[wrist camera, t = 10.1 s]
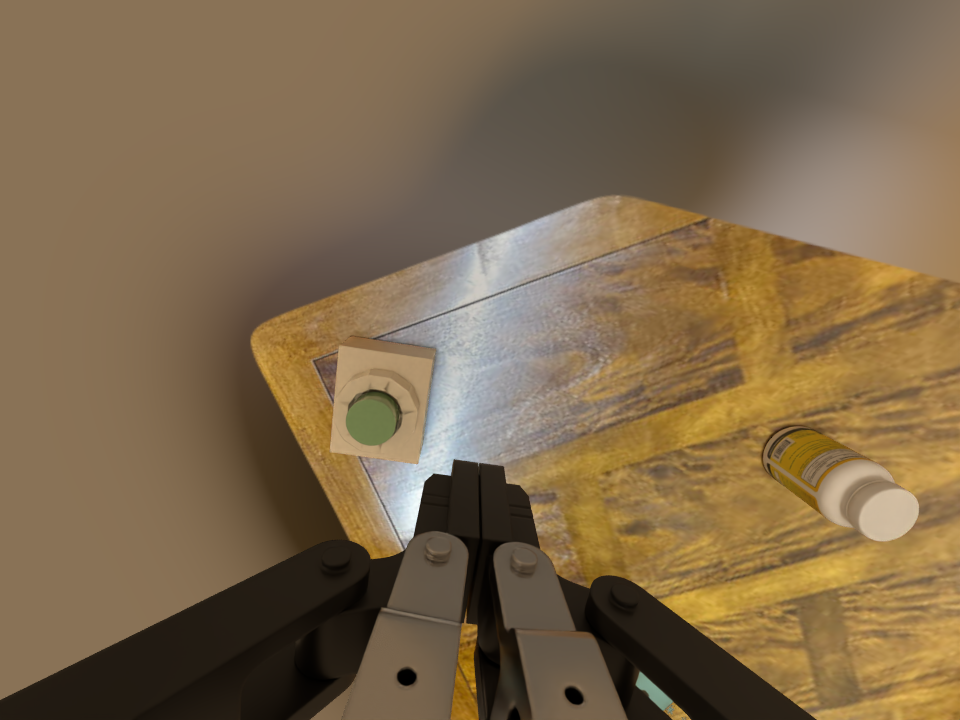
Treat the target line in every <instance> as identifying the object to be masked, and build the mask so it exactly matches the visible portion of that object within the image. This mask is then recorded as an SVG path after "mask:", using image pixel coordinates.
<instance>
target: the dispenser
mask: <svg viewBox="0 0 960 720" xmlns="http://www.w3.org/2000/svg"><path fill="white" fill-rule="evenodd" d="M435 355H436V349H433V348H426V347H420V346H413V345H407V344H400V343H394V342H387V341H381V340H374V339H368V338H362V337H355V336H351V337H349V338H348V339H347V340H345V341H344V342H343V343H341V344H340V345H339V350H338V362H337V374H336V385H335V397H334V409H333V420H332V432H331V444H330V452H334V453H341V454H348V455H355V456H363V457H370V458H377V459H384V460H391V461H398V462H405V463H413V464H418V462H419V458H420V454H421V450H422V446H423V440H424V433H425V426H426V418H427V411H428V404H429V397H430V390H431V383H432V376H433V369H434V362H435ZM374 391H375V392H382V393H385V394H387V395H388V396H390V397H391V398H392V399H393V400H394V401H395V402H396V404H397V406H398V408H399V413H400V417H399V421H398V424H397V426H396V429H395V431H394V433H393V435H392V436H391V438H390V439H389V440H388V441H386V442H385V443H382V444H380V445H375V446H369V445H364V444H361V443H359V442H358V441H356V440H355V439H354V438H353V437H352V436H351V435H350V434H349V432H348V430H347V427H346V415H347V413H348V411H349V409H350V408H351V406H352V405H353V404H354V402H355V401H356V400H357V399H358V398H359V397H360V396H361V395H363V394H365V393H368V392H374Z"/></svg>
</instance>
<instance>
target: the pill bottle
mask: <svg viewBox="0 0 960 720" xmlns="http://www.w3.org/2000/svg"><path fill="white" fill-rule="evenodd" d="M763 463H764V466H765V469H766V470H767V472H768V473H769V474H770V475H771V476H772V477H773V478H774V479H775V480H777V481H778V482H779V483H781V484H782V485H783V486H785V487H786V488H787V489H789V490H790V491H791V492H793V493H794V494H795V495H796V496H798V497H799V498H801V499H802V500H803V501H804V502H806V503H807V504H808V505H810V506H811V507H812V508H814V509H815V510H816V511H818V512H819V513H820V514H821V515H823V516H824V517H825V518H827V519H828V520H830V521H831V522H833V523H835V524H838V525H840V526H844V527H852V528H855V529H856V530H857V531H859V532H860V533H862V534H863V535H865V536H866V537H868V538H870V539H872V540H876V541H890V540H893V539H896V538H899V537H901V536H902V535H904V534H905V533H906V532H908V531H909V530H910V529H911V528H912V526H913V525H914V523H915V522H916V520H917V517H918V514H919V505H918V501H917V499H916V497H915V496H914V495H913V494H912V493H910V492H909V491H907V490H906V489H904V488H902V487H901V486H899V485H897V484H895V482H894V479H893V477H892V476H891V474H890V473H889V472H888V471H887V470H886V469H885V468H884V467H882V466H881V465H879V464H878V463H876V462H874V461H872V460H870V459H868V458H867V457H865V456H863V455H861V454H859V453H857V452H855V451H853V450H851V449H850V448H848V447H846V446H844V445H842V444H840V443H838V442H836V441H834V440H832V439H830V438H829V437H827V436H825V435H823V434H821V433H819V432H817V431H815V430H813V429H811V428H807V427H802V426H794V427H789V428H786V429H783V430H781V431H779V432H778V433H776V434H775V435H774V436H773V437H772V438H771V439H770V440H769V442H768V443H767V445H766V447H765V450H764V453H763Z"/></svg>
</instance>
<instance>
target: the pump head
mask: <svg viewBox="0 0 960 720" xmlns="http://www.w3.org/2000/svg"><path fill="white" fill-rule="evenodd" d="M399 417H400V413H399V408H398V406H397V404H396V402H395V401H394V400H393V399H392V398H391V397H390V396H388V395H387V394H385V393H382V392H375V391H374V392H368V393H365V394H363V395H361V396H360V397H359V398H358V399H357V400H356V401H355V402H354V404H353V405H352V406H351V408H350V409H349V411H348V413H347V415H346V427H347V430H348V432H349V434H350V435H351V436H352V437H353V438H354V439H355V440H356V441H358V442H359V443H361V444H364V445H369V446H375V445H380V444H382V443H385V442H386V441H388V440H389V439H390V438H391V436H392V435H393V433H394V431H395V429H396V426H397V424H398V421H399Z"/></svg>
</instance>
